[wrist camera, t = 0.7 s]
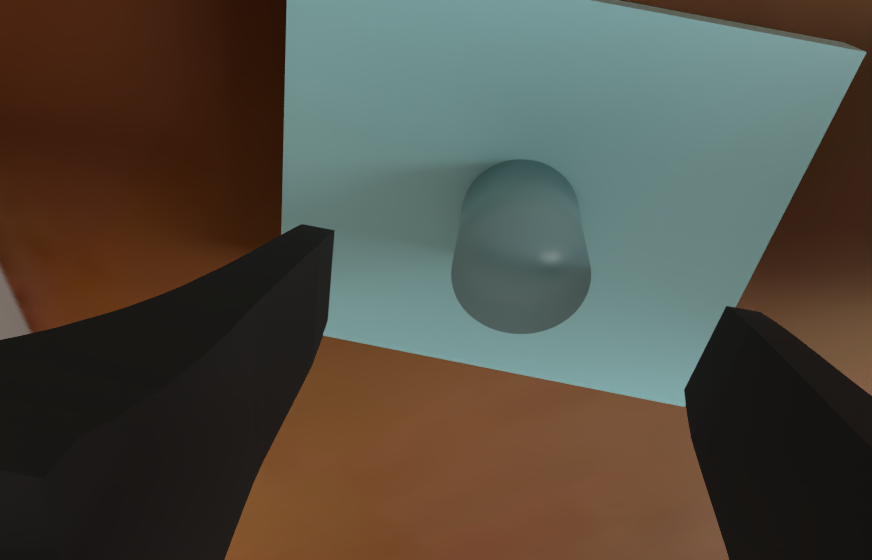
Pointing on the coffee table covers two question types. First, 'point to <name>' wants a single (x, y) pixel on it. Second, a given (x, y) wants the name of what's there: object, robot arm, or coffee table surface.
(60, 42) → the coffee table surface
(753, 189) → the lid
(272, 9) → the coffee table surface
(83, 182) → the coffee table surface
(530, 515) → the coffee table surface
